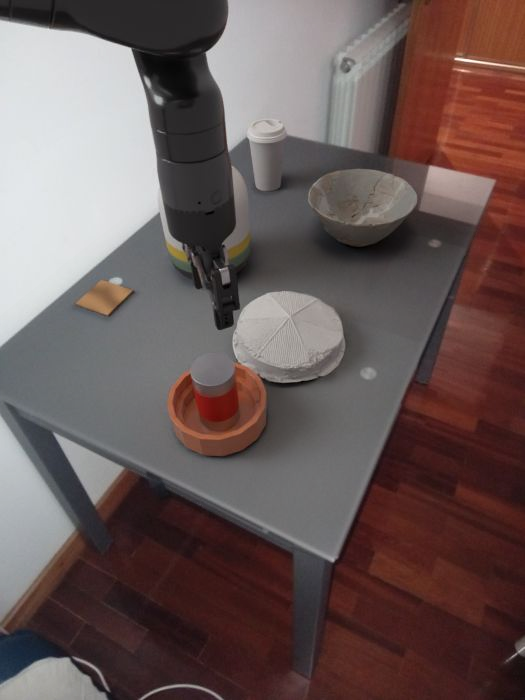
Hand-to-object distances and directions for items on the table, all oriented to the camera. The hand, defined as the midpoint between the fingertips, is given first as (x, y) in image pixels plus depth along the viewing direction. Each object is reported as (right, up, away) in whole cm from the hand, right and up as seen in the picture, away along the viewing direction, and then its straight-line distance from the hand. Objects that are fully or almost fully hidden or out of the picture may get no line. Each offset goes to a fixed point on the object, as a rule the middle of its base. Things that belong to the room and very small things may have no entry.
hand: (213, 305), depth 63 cm
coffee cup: (+8, +36, +63) cm, 73 cm away
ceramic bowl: (+27, +20, +47) cm, 58 cm away
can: (0, -16, +13) cm, 21 cm away
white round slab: (+11, -5, +24) cm, 27 cm away
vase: (-4, +12, +41) cm, 43 cm away
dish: (0, -16, +14) cm, 21 cm away
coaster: (-25, +5, +34) cm, 43 cm away
